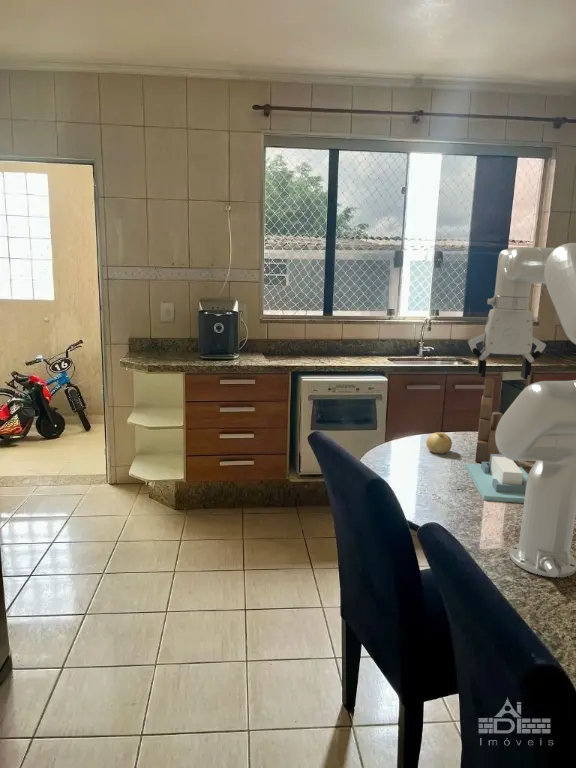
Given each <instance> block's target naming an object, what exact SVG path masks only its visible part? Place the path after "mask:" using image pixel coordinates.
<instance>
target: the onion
mask: <svg viewBox="0 0 576 768" xmlns="http://www.w3.org/2000/svg"><path fill="white" fill-rule="evenodd" d="M425 443H426V447H427V449H428V450H429V451H430V452H431V453H433V454H440V455H441V454H447V453H449V452H450V451H451V449H452V446H453V441H452V439H451V437H450V436H449V435H448V434H446V433H445V432H442V431H441V432H440V431H439V432H438V431H437V432H434V433H431V434H430V435H429V436H428V437H427V439H426V442H425Z"/></svg>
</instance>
